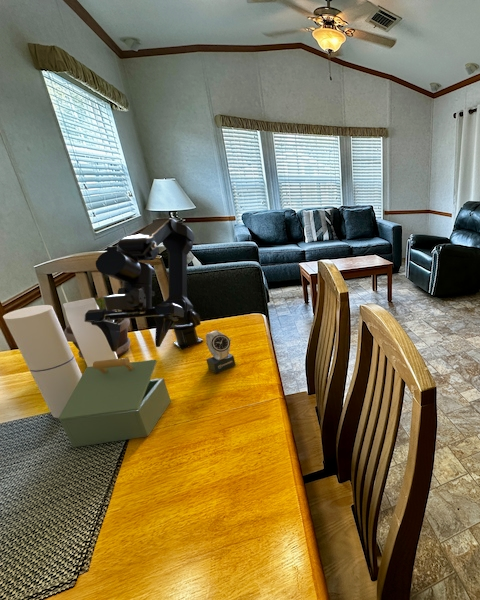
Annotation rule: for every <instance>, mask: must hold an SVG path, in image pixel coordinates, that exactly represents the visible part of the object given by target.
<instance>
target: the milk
mask: <svg viewBox="0 0 480 600" xmlns="http://www.w3.org/2000/svg"><path fill="white" fill-rule="evenodd" d="M62 306H63V309H64V312H65V316H66V320H67V323H68V324H69V326H70V327H71V329H72V332H73V334H74V336H75V339H76V341H77V343H78V346H79V348H80V350H81V353H82V355H83V357H84V359H83V360H84V362H85V364H86V368H87V367H92V366H93V363H94V362H95V361H103V360H112V359H119V357H117V354H116V352H113V351H112V350H111V348H110V346H109V343H108V341H107V339H106V337H105V335H104V333H103V332H102V330H101V329H100V328H99V327H98V326H95V325H92V324H91V323H89V322H84V321H85V314H86V313H87V311H88V310H95V309H99V307H98V305H97V303H96V298H95V297H89V298H84V299H79V300H74V301H68V302H64V303H63V304H62Z"/></svg>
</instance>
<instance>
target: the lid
mask: <svg viewBox="0 0 480 600" xmlns="http://www.w3.org/2000/svg"><path fill="white" fill-rule="evenodd" d="M157 363H158V361H157V359H150V360H142V361H141V360H139V361H130V358H129V357H124V358H123V357H122V358H118V359H112V360H103V361H95V362H94V363H93V366H92V367H87V366H86V367H85V370H83V373H82V377H81V378H80V380H79V382H78V384H77V386H76V387H75V389H74V391H73V393H72V395H71V396H70V398H69V400H68V402H67V404H66V405H65V407H64V409H63V411H62V413H61V414H60V416H59V418H57V419H58V420H59V421H61V420H66V419H74V418H81V417H89V416H96V415H104V414H111V413H119V412H126V411H134V410H139V407H140V405H141V402H142V399H143V397H144V394H145V392H146V389H147V386H148V384H149V381H150V380H151V378H152V376H153V373H154V371H155V368H156V365H157Z"/></svg>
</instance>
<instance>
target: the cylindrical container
mask: <svg viewBox="0 0 480 600" xmlns="http://www.w3.org/2000/svg"><path fill="white" fill-rule="evenodd" d="M2 318H3V320H4V322H5V324H6V327H7V328H8V331H9V332H10V334H11V336H12V338H13V340H14V342H15V344H16V346H17V348H18V350H19V352H20V354H21V357H22V358H23V360H24V362H25V364H26V366H27V368H28V370H29V372H30V374H31V376H32V378H33V379H34V382H35V384H36V386H37V388H38V390H39V392H40V394H41V396H42V398H43V400H44V402H45V404H46V406H47V408H48V410H49V412H50V414H51V416H52V417H53V418H55V419H58V418H59V416H60V414H61V413H62V411H63V409H64V407H65V405H66V404H67V402H68V400H69V398H70V396H71V395H72V393H73V391H74V389H75V387H76V386H77V384H78V382H79V380H80V378H81V377H82V375H83V373H82V371H81V370H80V367H79V365H78V362H77V361H76V358H75V356H74V353H73V351H72V348H71V346H70V344H69V341H67V339H66V337H65V335H64V330H63V328H62V326H61V323H60V321H59V318H58V315H57V313H56V312H55V310H54V307H53V305H52V304H51V305H50V304H39V305H33V306H28V307H22V308H18V309H15V310H11V311H9V312H8V313H5V314H4V315H3V316H2Z"/></svg>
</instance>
